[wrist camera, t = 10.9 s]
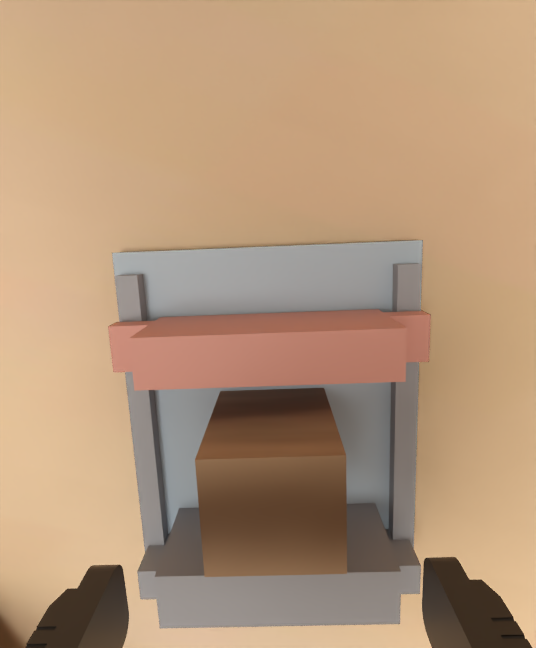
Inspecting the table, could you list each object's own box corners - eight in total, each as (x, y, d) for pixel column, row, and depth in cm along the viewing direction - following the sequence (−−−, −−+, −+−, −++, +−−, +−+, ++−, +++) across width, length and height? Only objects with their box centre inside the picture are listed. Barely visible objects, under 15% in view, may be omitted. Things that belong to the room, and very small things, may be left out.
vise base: (120, 252, 20) (63, 256, 15) (415, 240, 20) (467, 239, 14) (151, 546, 23) (114, 639, 18) (407, 540, 23) (448, 633, 17)
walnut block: (220, 391, 20) (194, 459, 14) (323, 387, 20) (346, 455, 14) (225, 476, 21) (204, 576, 15) (325, 473, 21) (347, 573, 15)
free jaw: (124, 318, 20) (82, 339, 15) (415, 307, 19) (454, 326, 15) (128, 359, 20) (89, 392, 16) (414, 350, 20) (452, 380, 15)
